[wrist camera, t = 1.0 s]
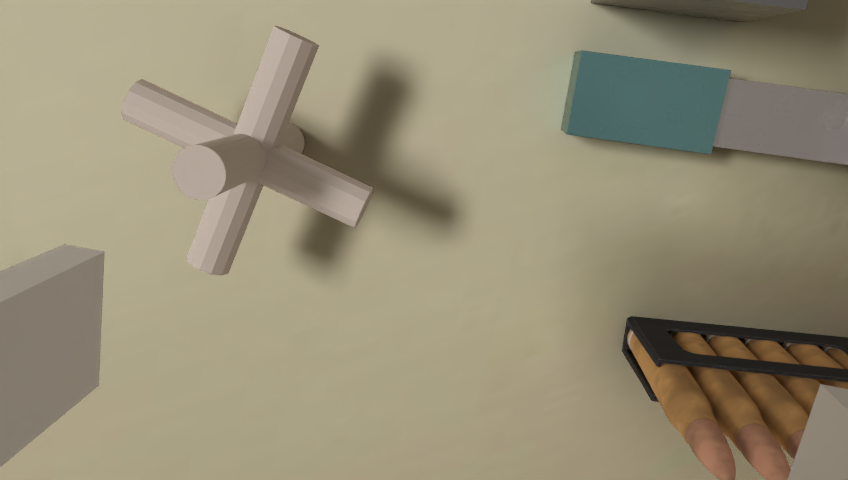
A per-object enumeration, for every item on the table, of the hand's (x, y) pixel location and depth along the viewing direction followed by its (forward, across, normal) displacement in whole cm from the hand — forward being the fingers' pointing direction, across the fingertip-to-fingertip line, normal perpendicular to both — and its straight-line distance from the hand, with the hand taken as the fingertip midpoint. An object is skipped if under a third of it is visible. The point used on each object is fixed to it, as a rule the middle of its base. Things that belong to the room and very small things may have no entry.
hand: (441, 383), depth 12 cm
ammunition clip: (+20, +14, -5) cm, 25 cm away
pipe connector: (+20, -9, +1) cm, 22 cm away
